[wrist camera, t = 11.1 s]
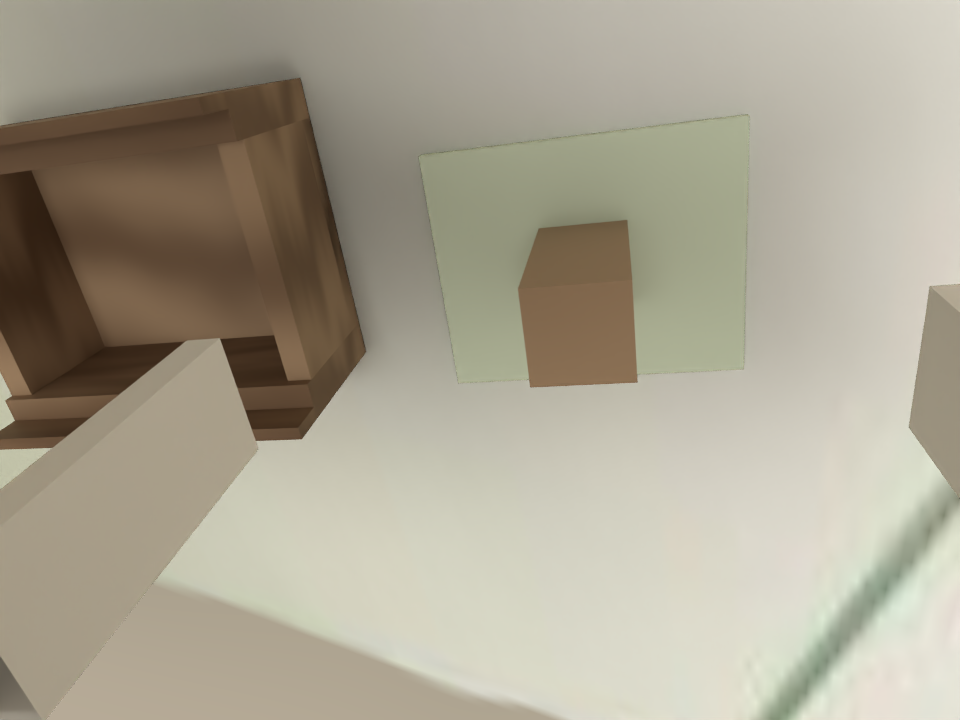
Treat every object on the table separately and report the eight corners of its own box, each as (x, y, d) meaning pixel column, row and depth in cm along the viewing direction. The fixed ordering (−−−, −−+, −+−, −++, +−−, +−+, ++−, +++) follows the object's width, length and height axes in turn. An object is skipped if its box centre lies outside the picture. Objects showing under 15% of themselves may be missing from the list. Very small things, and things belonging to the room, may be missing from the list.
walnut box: (7, 124, 30) (-165, 154, 23) (300, 77, 27) (198, 96, 20) (109, 368, 35) (-8, 449, 28) (365, 352, 32) (301, 439, 25)
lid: (423, 152, 28) (361, 197, 21) (745, 112, 25) (796, 148, 18) (461, 375, 32) (420, 472, 25) (740, 360, 29) (780, 465, 22)
